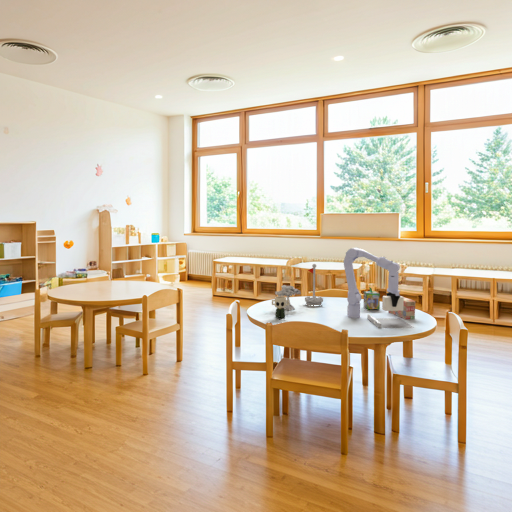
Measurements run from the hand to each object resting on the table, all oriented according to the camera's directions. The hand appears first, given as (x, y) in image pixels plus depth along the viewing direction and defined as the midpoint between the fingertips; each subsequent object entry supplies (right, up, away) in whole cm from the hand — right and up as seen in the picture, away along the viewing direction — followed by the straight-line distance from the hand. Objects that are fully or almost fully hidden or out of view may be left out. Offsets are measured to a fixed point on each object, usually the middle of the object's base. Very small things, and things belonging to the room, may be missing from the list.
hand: (392, 305), depth 242 cm
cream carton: (0, -3, 0) cm, 3 cm away
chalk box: (-1, -7, +41) cm, 42 cm away
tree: (-59, -7, +39) cm, 71 cm away
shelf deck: (-3, -11, -3) cm, 11 cm away
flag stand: (-39, -6, +53) cm, 67 cm away
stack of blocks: (+11, -9, +17) cm, 22 cm away
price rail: (-12, -10, -3) cm, 16 cm away
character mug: (-66, -9, +14) cm, 68 cm away
